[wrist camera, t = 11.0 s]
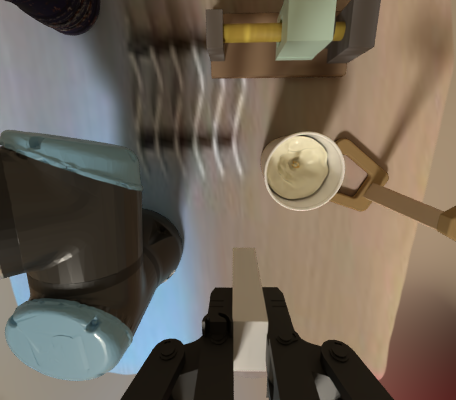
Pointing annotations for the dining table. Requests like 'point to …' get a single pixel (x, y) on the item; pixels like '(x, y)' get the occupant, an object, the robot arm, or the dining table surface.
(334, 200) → the headphone stand
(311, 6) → the sleeve
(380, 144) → the dining table surface
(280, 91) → the dining table surface
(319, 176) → the candle holder
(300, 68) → the rail
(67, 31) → the storage jar
